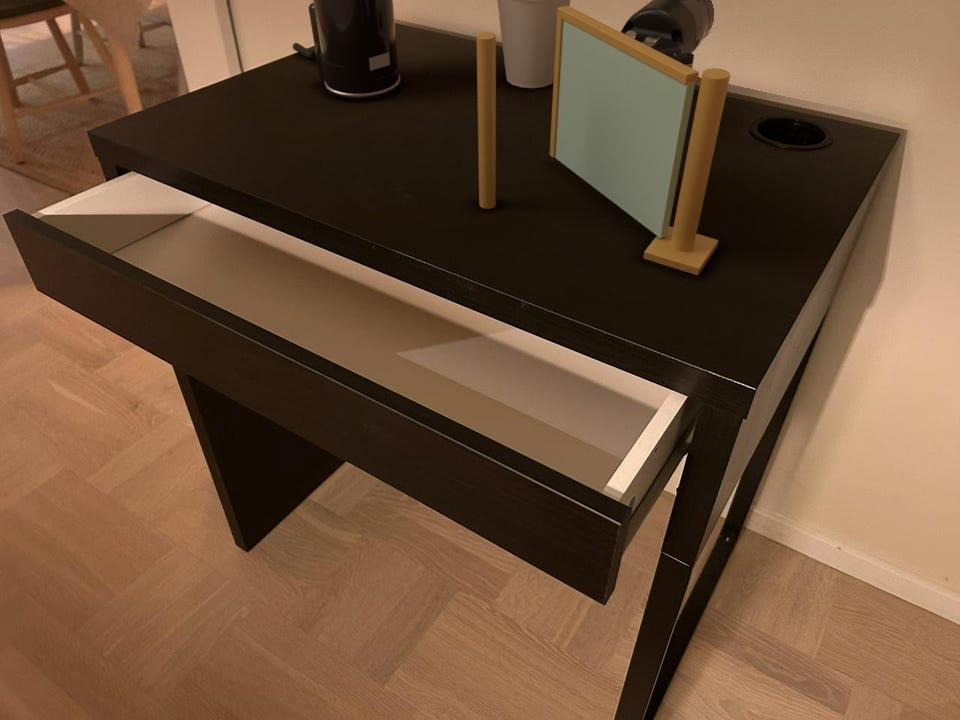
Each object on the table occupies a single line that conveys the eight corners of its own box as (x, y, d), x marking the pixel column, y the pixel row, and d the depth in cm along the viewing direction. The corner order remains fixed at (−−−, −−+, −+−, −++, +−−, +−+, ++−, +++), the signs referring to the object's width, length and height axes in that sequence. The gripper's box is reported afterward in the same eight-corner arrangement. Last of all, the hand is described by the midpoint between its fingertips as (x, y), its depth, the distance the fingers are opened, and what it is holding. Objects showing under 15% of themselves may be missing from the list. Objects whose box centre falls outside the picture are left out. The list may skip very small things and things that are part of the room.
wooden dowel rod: (498, 203, 73) (499, 34, 62) (490, 210, 72) (489, 40, 61) (484, 198, 73) (482, 30, 63) (476, 206, 72) (472, 36, 62)
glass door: (669, 235, 66) (699, 71, 57) (658, 239, 66) (687, 74, 56) (559, 152, 78) (568, 5, 68) (549, 155, 78) (557, 7, 68)
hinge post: (717, 247, 67) (759, 68, 56) (697, 276, 64) (739, 92, 53) (664, 231, 69) (695, 56, 58) (642, 259, 66) (672, 78, 55)
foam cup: (532, 58, 100) (536, -50, 91) (583, 78, 95) (592, -34, 86) (478, 77, 96) (477, -34, 87) (528, 99, 90) (532, -16, 82)
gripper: (616, -12, 86) (545, 35, 75) (729, 6, 80) (671, 60, 70) (609, 54, 91) (542, 107, 80) (715, 76, 86) (659, 135, 75)
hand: (602, 85), depth 75 cm, fingers closed
